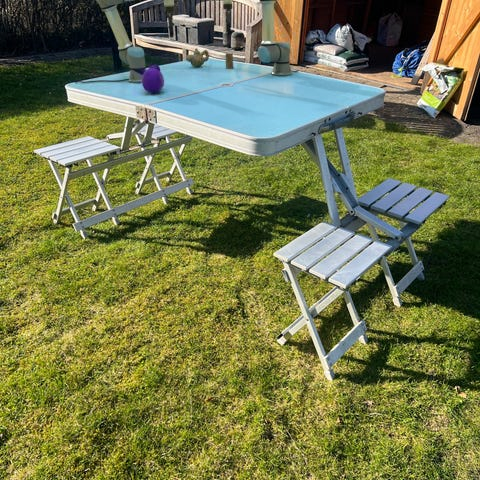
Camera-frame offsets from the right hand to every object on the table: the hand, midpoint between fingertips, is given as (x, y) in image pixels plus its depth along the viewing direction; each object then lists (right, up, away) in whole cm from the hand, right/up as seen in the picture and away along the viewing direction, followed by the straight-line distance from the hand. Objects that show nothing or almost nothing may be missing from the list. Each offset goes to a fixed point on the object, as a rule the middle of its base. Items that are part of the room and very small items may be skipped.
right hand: (228, 32), depth 367 cm
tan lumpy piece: (-27, -20, +21) cm, 40 cm away
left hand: (-44, -9, -14) cm, 47 cm away
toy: (-52, -68, -59) cm, 103 cm away
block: (0, -24, +14) cm, 27 cm away
